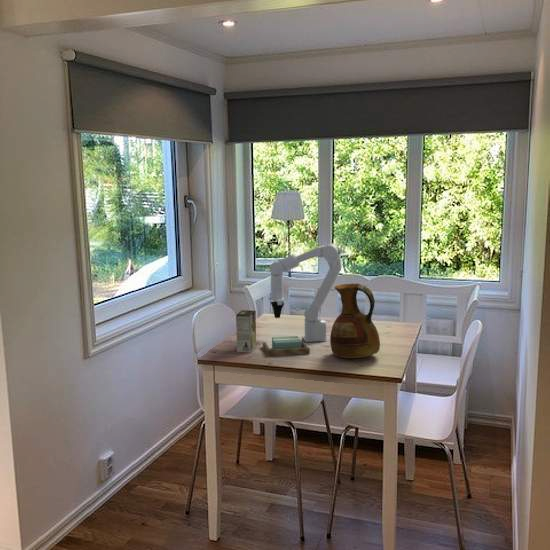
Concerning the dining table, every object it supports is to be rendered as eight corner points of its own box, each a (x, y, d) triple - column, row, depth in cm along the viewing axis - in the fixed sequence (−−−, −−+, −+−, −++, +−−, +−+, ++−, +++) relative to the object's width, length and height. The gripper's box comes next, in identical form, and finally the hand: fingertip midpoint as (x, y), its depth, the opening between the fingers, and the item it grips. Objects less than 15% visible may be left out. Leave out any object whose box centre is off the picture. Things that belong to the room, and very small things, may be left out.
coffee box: (242, 346, 257) (241, 309, 255) (256, 346, 256) (256, 310, 253) (236, 352, 248) (235, 314, 246) (251, 352, 247) (250, 315, 244)
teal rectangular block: (297, 347, 256) (297, 335, 255) (301, 353, 247) (301, 341, 246) (271, 348, 254) (271, 337, 253) (275, 354, 245) (275, 342, 244)
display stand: (302, 344, 258) (302, 339, 258) (309, 354, 245) (309, 348, 244) (262, 346, 256) (262, 341, 255) (267, 356, 242) (267, 350, 241)
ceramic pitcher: (337, 347, 254) (337, 278, 249) (384, 352, 247) (385, 281, 242) (323, 360, 236) (324, 286, 231) (374, 365, 229) (375, 289, 224)
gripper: (265, 285, 273) (266, 314, 275) (270, 291, 259) (271, 321, 261) (281, 285, 274) (281, 313, 276) (286, 290, 260) (286, 320, 262)
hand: (277, 317), depth 269 cm, fingers closed
